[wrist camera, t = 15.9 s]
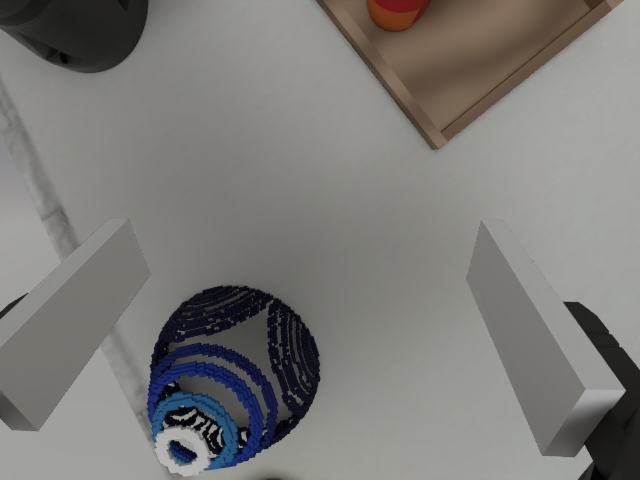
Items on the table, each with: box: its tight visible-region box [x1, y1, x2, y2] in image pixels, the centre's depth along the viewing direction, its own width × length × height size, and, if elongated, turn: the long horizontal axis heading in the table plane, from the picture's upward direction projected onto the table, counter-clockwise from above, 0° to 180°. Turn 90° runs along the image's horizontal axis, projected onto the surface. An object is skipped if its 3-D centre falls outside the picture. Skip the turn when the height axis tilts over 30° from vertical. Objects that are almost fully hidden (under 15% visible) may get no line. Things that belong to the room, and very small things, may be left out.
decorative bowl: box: [147, 285, 320, 477], centre depth 37 cm, size 20×20×14 cm
